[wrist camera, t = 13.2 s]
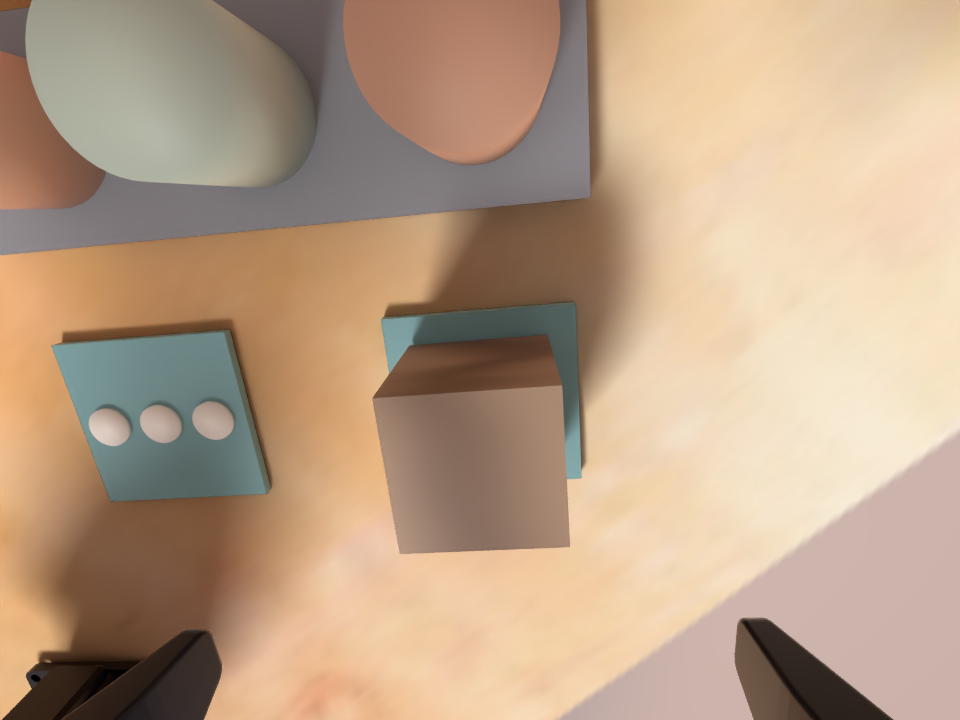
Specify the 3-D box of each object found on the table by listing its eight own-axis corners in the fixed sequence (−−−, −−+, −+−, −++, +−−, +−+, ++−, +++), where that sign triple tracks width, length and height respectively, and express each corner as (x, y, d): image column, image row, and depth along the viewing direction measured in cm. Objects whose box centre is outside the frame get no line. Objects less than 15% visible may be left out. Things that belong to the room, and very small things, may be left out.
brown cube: (547, 334, 17) (562, 385, 12) (554, 459, 19) (569, 547, 14) (409, 345, 18) (372, 398, 13) (427, 466, 19) (399, 553, 14)
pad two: (580, 472, 19) (582, 480, 19) (409, 481, 20) (406, 489, 19) (574, 301, 17) (576, 305, 17) (383, 317, 18) (379, 320, 17)
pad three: (271, 488, 21) (264, 496, 20) (117, 496, 21) (106, 504, 21) (229, 329, 18) (220, 333, 18) (60, 342, 19) (46, 347, 18)
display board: (585, 198, 16) (627, 195, 11) (14, 253, 18) (-215, 277, 12) (579, -55, 14) (627, -228, 8) (-68, 37, 16) (-392, -56, 10)
